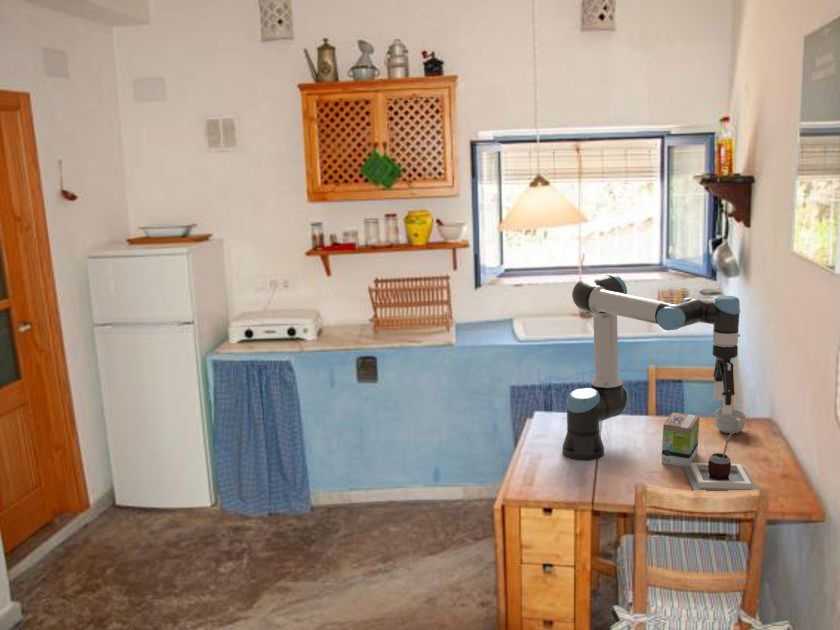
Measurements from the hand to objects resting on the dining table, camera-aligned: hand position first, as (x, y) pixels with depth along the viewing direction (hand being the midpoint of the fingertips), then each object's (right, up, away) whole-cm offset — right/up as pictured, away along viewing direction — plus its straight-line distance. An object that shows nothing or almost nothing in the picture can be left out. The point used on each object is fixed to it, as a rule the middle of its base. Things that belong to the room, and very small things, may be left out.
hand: (722, 407), depth 257 cm
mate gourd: (+1, -25, +5) cm, 25 cm away
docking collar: (+1, -25, +5) cm, 26 cm away
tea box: (-6, -22, +25) cm, 34 cm away
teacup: (+22, -16, +47) cm, 54 cm away
